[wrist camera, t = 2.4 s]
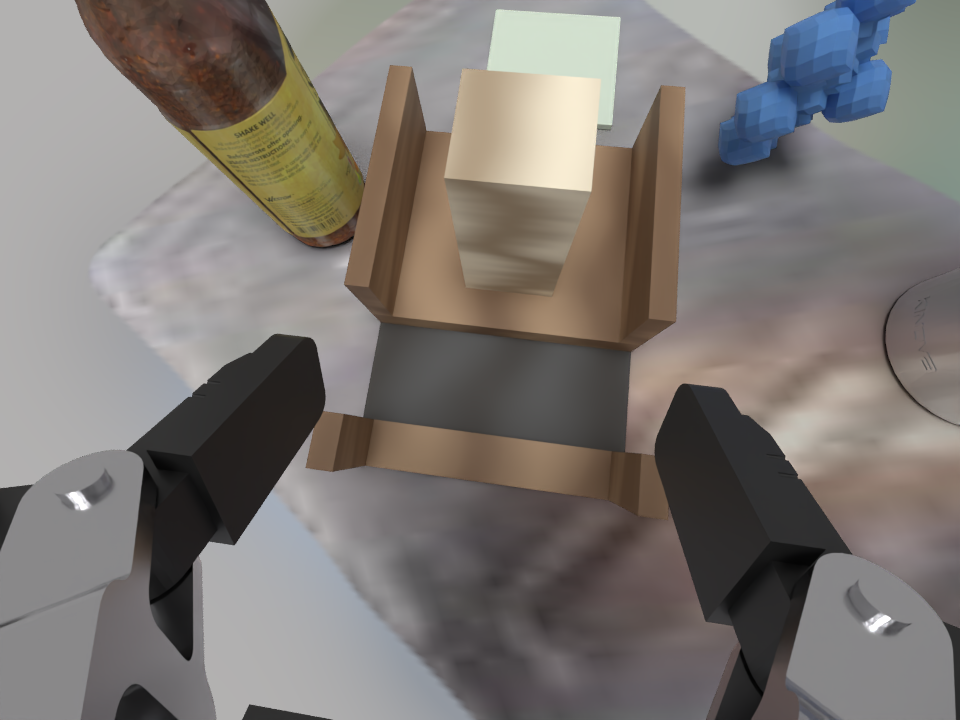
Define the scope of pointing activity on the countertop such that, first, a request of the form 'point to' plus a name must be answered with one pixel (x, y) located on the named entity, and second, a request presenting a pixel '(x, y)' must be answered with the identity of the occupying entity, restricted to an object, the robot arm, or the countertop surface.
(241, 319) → the countertop surface
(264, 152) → the sauce bottle
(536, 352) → the wooden holder
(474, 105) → the block
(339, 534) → the countertop surface
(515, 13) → the mat
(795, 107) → the grapes
